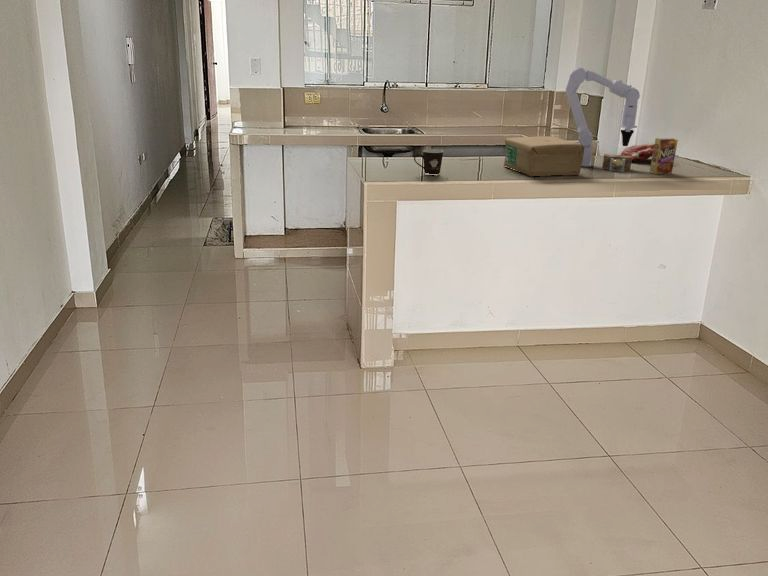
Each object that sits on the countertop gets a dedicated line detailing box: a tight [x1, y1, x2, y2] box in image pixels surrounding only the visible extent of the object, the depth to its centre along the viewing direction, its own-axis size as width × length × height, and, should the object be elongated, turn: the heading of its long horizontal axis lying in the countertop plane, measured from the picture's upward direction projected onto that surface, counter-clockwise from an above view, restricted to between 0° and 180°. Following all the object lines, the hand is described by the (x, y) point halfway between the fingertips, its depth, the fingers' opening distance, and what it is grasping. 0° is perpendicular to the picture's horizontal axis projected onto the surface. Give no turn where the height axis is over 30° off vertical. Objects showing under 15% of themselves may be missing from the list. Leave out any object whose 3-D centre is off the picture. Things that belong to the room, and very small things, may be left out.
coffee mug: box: [413, 149, 444, 174], centre depth 285 cm, size 12×9×10 cm
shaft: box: [612, 159, 623, 170], centre depth 305 cm, size 5×10×5 cm, turn 164°
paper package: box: [503, 135, 584, 177], centre depth 298 cm, size 27×26×14 cm
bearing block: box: [601, 153, 633, 172], centre depth 307 cm, size 12×6×6 cm, turn 74°
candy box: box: [649, 137, 679, 175], centre depth 298 cm, size 9×4×15 cm, turn 103°
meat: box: [620, 142, 655, 160], centre depth 329 cm, size 21×21×10 cm
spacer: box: [608, 158, 625, 173], centre depth 303 cm, size 6×2×5 cm, turn 74°
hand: (625, 146), depth 309 cm, fingers closed
